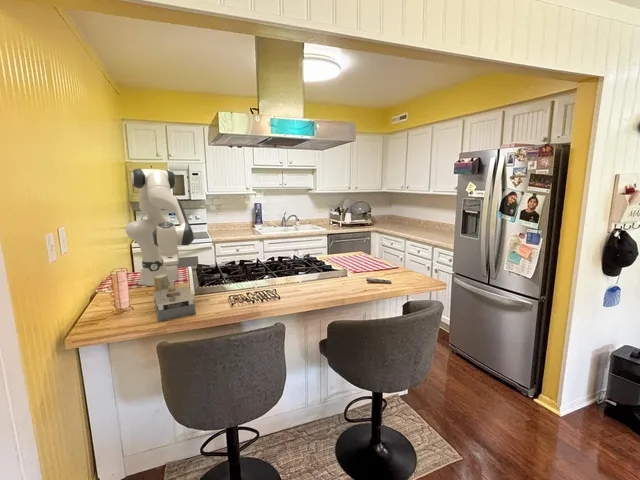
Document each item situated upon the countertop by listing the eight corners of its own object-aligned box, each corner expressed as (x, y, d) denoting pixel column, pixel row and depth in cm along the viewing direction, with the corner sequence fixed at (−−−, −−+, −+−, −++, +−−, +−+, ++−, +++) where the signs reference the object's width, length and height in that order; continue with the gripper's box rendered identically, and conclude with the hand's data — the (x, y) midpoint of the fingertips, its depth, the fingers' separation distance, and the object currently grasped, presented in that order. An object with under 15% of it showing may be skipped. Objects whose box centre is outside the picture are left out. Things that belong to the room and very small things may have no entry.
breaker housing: (155, 306, 171) (153, 291, 170) (188, 300, 179) (187, 285, 177) (158, 321, 154) (156, 304, 153) (195, 314, 162) (194, 297, 160)
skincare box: (165, 294, 188) (163, 273, 185) (171, 295, 186) (169, 274, 184) (155, 298, 182) (153, 276, 179) (162, 299, 180) (159, 277, 178)
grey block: (168, 290, 166) (166, 277, 164) (175, 289, 167) (174, 276, 166) (168, 292, 163) (167, 279, 161) (176, 291, 164) (174, 278, 163)
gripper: (159, 252, 169) (162, 279, 172) (163, 263, 151) (166, 292, 154) (173, 251, 172) (175, 277, 175) (178, 261, 154) (181, 290, 157)
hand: (171, 284), depth 164 cm, fingers closed on grey block, 3 cm apart
